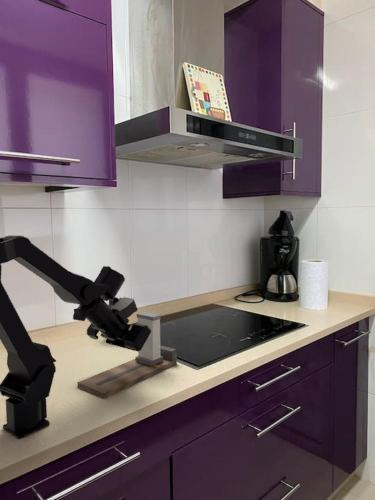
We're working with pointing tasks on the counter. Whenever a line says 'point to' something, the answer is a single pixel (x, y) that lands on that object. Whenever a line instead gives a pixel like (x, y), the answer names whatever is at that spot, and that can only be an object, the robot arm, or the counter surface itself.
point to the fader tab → (150, 339)
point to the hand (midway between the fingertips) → (134, 348)
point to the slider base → (126, 374)
